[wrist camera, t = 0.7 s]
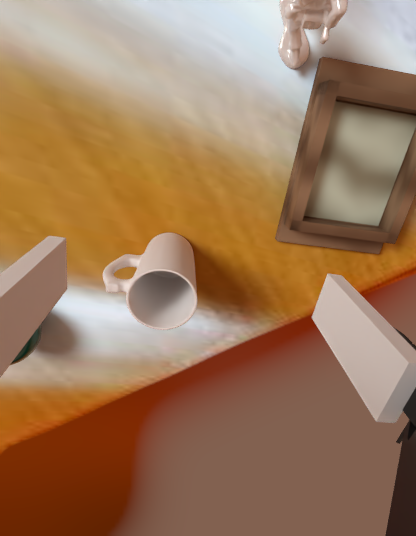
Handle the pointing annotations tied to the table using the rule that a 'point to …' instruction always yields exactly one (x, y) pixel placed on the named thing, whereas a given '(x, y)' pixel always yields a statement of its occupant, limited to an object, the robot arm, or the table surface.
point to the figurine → (306, 26)
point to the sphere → (28, 346)
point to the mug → (158, 282)
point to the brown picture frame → (353, 159)
